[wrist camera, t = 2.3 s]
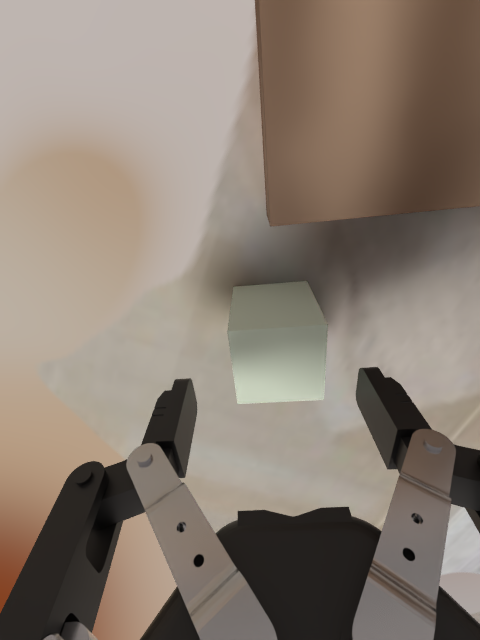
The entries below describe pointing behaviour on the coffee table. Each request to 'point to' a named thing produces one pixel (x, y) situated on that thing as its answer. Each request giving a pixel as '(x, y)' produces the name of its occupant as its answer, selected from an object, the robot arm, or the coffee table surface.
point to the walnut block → (368, 107)
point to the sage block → (277, 343)
